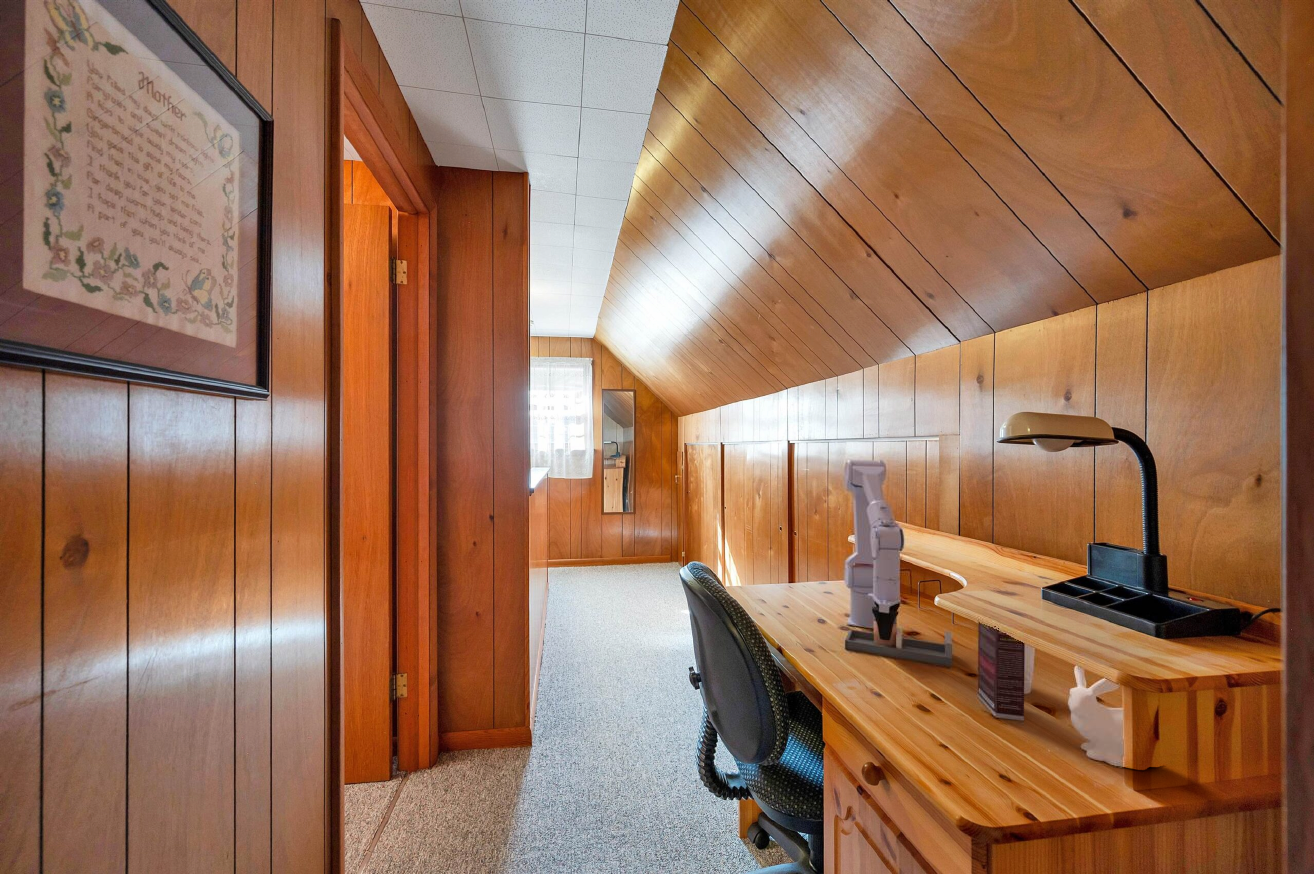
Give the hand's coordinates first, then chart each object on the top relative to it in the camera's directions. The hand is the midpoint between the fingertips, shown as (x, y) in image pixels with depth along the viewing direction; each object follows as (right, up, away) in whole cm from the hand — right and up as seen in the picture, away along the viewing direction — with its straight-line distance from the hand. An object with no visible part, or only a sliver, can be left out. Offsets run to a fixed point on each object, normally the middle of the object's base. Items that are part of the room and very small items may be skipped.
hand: (885, 635), depth 127 cm
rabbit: (+16, -3, -44) cm, 46 cm away
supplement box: (+8, -3, -29) cm, 30 cm away
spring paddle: (+3, -2, -1) cm, 4 cm away
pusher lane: (+2, -3, -1) cm, 4 cm away
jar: (0, -3, 0) cm, 3 cm away
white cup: (+16, -3, -20) cm, 26 cm away
